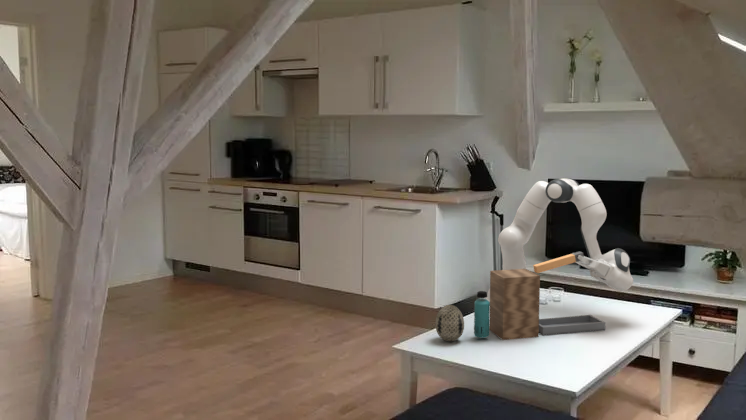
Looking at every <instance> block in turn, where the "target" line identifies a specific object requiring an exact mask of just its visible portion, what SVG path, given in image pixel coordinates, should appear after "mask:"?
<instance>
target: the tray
mask: <svg viewBox="0 0 746 420" xmlns="http://www.w3.org/2000/svg"><path fill="white" fill-rule="evenodd" d="M605 330H606V322H605V321H603V320H602V319H600V318H597V317H596V316H594V315H592V314H582V315H572V316H571V315H568V316H567V315H566V316H557V317H555V316H554V317H544V318H539V334H540V335H541V336H543V337H545V336H553V335H564V334H565V335H567V334H576V333H577V334H578V333H588V332H589V333H590V332H600V331H605Z"/></svg>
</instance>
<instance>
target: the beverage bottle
mask: <svg viewBox="0 0 746 420" xmlns="http://www.w3.org/2000/svg"><path fill="white" fill-rule="evenodd" d="M487 295H488V292H487V291H485V290H484V291H483V290H481V291H477V295H476V297H477V299H476V300H475V301H474V309H473V310H474V311H473V316H474V318H473V319H474V320H473V335H474V336H475V337H477V338H488V337H489V336H490V330H489V324H490V302H489V301H488V300H487V299H483V298H487Z"/></svg>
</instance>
